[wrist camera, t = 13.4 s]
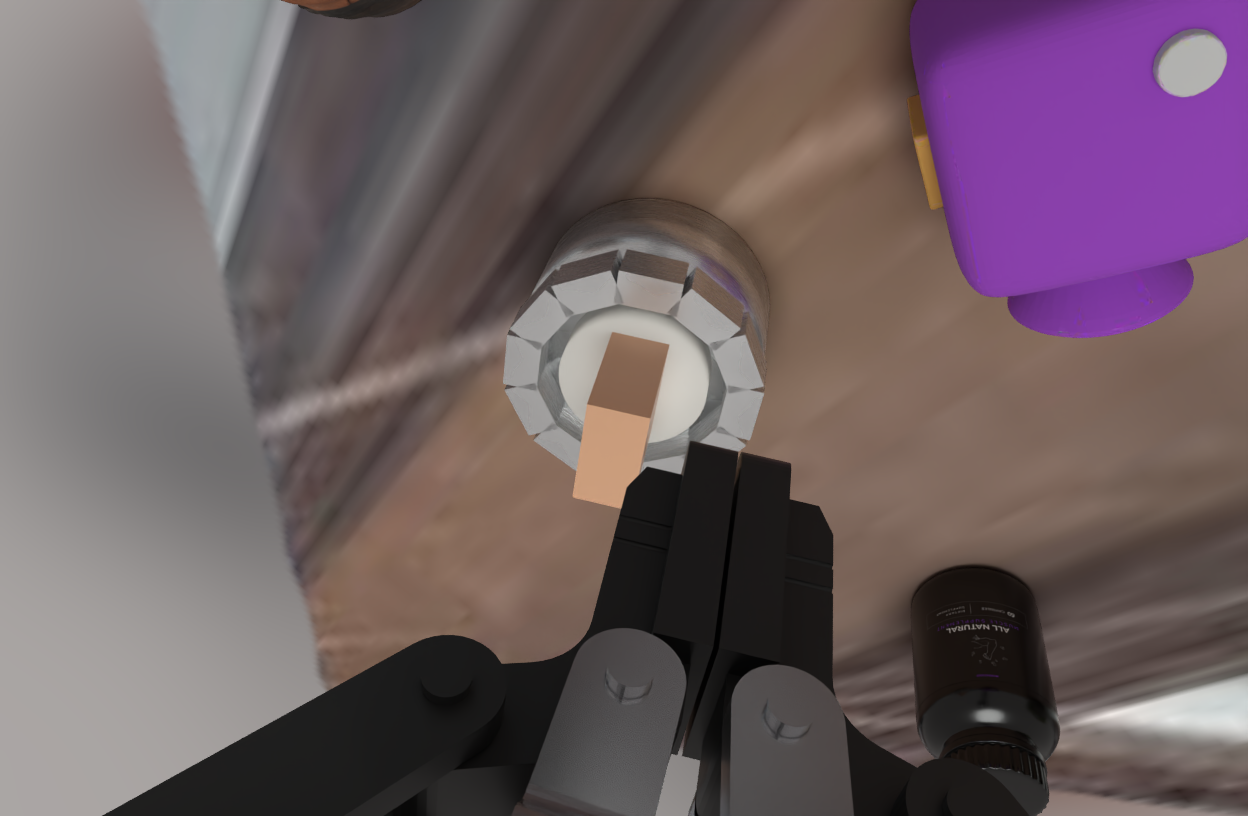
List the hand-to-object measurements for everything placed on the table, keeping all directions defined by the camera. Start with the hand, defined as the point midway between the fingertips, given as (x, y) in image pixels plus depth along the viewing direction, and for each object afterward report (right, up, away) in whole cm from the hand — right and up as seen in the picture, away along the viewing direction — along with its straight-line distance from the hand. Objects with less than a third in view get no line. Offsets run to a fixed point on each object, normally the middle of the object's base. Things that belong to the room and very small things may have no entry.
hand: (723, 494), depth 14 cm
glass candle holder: (0, +6, +32) cm, 33 cm away
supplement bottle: (+18, -10, +40) cm, 46 cm away
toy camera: (+16, +13, +24) cm, 31 cm away
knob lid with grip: (-1, +3, +28) cm, 28 cm away
